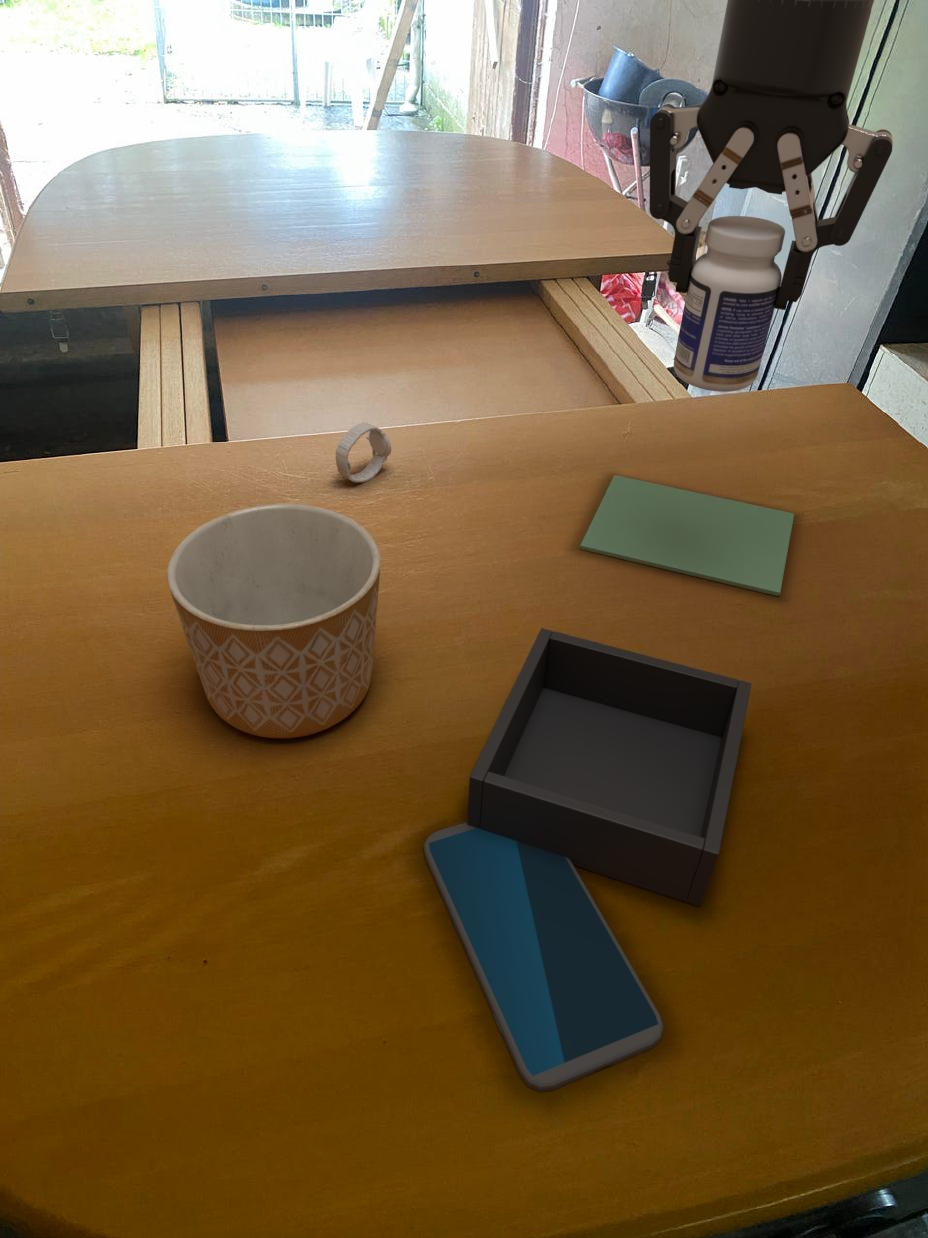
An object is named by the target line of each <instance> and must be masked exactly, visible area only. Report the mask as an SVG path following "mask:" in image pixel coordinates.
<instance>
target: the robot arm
mask: <svg viewBox="0 0 928 1238" xmlns="http://www.w3.org/2000/svg"><path fill="white" fill-rule="evenodd" d="M874 3H875V0H727V2H726V7H725V12H724V18H723V23H722V28H721V33H720V39H719V44H718V51H717V55H716V61H715V66H714V72H713V77H712V82H711V87H710V90H709V92H708V93H707V96H706V98H705V99H704V101H703V102H702V103H701V105H700V106H693V107H681V108H680V107H677V108H676V106H675V105H673V104H671V103H666V104H663V105H662V106H661V107H660V108H659V109H658V110H657V111H656V112H655V113H654V114H653V115H652V117H651V118H650V120H649V121H650V122H649V214H650V216H651V217H652V218H653V219H655V220H662V221H663V222H666V223H668V225H671V226H672V228H673V231H674V237H673V238H674V239H673V244H672V249H671V253H670V254H671V255H670V260H669V265H668V272H667V275H668V280H669V282H670V283H676V284H675V291H674V292H675V293H678V294H679V293H680V294H685V295H686V294H687V289H688V284H689V278H690V274H691V269H692V266H693V264H694V262H695V261H696V259H697V252H698V248H699V243H700V238H701V232H702V229H703V226H699V225H700V222H701V220H702V218H703V217H704V215H705V214H706V213H707V212H708V209H709V208H710V206H711V205H712V204H713V202H714V201H715V199H717V197H718V195H719V194H720V192H721V191H722V190H723V188H724V187H725V185H726V184H727V185H728V188H730V189H738V190H747V189H754V188H756V189H759V190H761V191H763V192H766V193H767V194H774V195H782V196H783V193H785V196H786V200H787V201H786V202H787V206H788V212H789V215H790V217H791V223H792V227H793V235H794V238H795V240H793V239H792V240H791V243H790V248H789V251H788V255H787V259H786V262H785V266H784V271H783V273H782V279H781V285H780V289H779V293H778V297H777V301H776V305H775V309H774V310H782V311H786V310H787V306H788V303H789V302H792V303H797V302H798V300H799V299H800V298H801V297H802V295H803V291H804V287H805V284H806V280H807V276H808V273H809V269H810V265H811V262H812V259H813V255H814V254H815V252H816V251H817V250H819V249H820V248H823V247H827V246H831V245H834V246H835V247H836V246H837V247H842V246H844V245H846V244H848V243H849V242H850V240H851V238H852V237H853V235H854V232H855V230H856V228H857V226H858V224H859V222H860V220H861V218H862V215H863V213H864V211H865V209H866V207H867V205H868V203H869V201H870V199H871V196H872V195H873V193H874V191H875V189H876V186H877V185H878V182H879V180H880V178H881V176H882V174H883V172H884V169H885V167H886V165H887V163H888V161H889V159H890V157H891V156H892V153H893V143H894V142H893V135H892V133H891V131H889V130H887V129H882V128H881V129H879V130H876V131H873V130H870V129H867V128H864V127H860V126H857V125H853V124H851V123H850V117H849V114H848V107H847V106H848V105H847V102H848V98H849V95H850V91H851V87H852V83H853V80H854V76H855V73H856V68H857V65H858V62H859V58H860V54H861V52H862V48H863V43H864V40H865V36H866V32H867V30H868V29H867V28H868V25H869V21H870V17H871V14H872V9H873V5H874ZM695 128H697V130H698V132H699V135H700V137H701V140H702V141H703V143H704V146H705V148H706V150H707V153H708V155H709V157H710V159H711V162H712V165H711V166H710V168H709V169H708V171H707V172H706V174H705V175H704V177H703V178H702V180H701V182H700V183H699V184H698V186H697V188H696V189H695V191H694V192H693V194H692V196H691V197H690V199H689V200H688V201H686V200H685V199H684V198H682V197H680V196H678V195H677V159H678V158H677V156H678V154H677V153H678V151H677V150H680V149H681V148H683V146H684V145H685V144H686V143H687V141H688V139H689V134H690V131H691V130H692V129H695ZM841 146H843V147H845V148H846V149H847V151H848V155H847V158H846V159H847V160H846V166H847V168H848V170H849V171H850V172H851V173H853V175H852V177H851V179H850V182H849V184H848V186H847V187H846V188H847V189H846V190H845V193H844V195H843V197H842V199H841V201H840V203H839V206H838V208H837V210H836V212H835V214H834V216H832V217H827V218H821V219H819V216H818V209H817V203H816V194H815V193H816V192H815V185H814V180H813V173H814V172H815V170H816V169H818V168H819V167H820V166H821V165H822V164H823V163H824V162H825V161H826V160H827V159H828V158H829V157H830V156H831V155H832V154H833V153H834V152H836V150H838V149H839V148H840V147H841Z"/></svg>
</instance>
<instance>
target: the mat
mask: <svg viewBox="0 0 928 1238" xmlns="http://www.w3.org/2000/svg"><path fill="white" fill-rule="evenodd" d="M794 519H795V513H793V512H788V511H784V510H779V509H774V508H770V507H766V506H761V505H757V504H752V503H747V502H742V501H737V500H733V499H728V498H724V497H720V496H715V495H711V494H705V493H701V492H695V491H692V490H687V489H682V488H677V487H672V486H668V485H663V484H659V483H654V482H649V481H645V480H642V479H641V480H640V479H635V478H631V477H627V476H626V477H625V476H621V475H617V474H614V475H613V476H612V479H611V481H610V483H609V485H608V487H607V489H606V491H605V493H604V495H603V498H602V499H601V501H600V503H599V505H598V508H597V509H596V512H595V514H594V516H593V518H592V520H591V522H590V524H589V526H588V529H587V531H586V533H585V534H584V537H583V539H582V540H581V542H580V545H579V550H582V551H587V552H589V553H595V554H599V555H603V556H608V557H611V558H615V559H620V560H624V561H629V562H631V563H632V562H633V563H636V564H641V565H645V566H648V567H649V566H650V567H654V568H657V569H662V570H666V571H670V572H674V573H678V574H683V575H686V576H691V577H696V578H700V579H703V580H708V581H713V582H715V583H716V582H718V583H721V584H725V585H728V586H734V587H738V588H742V589H745V590H750V591H755V592H759V593H762V594H767V595H770V596H771V595H772V596H776V597H780V595H781V591H782V587H783V581H784V576H785V575H784V574H785V568H786V564H787V558H788V553H789V552H788V551H789V547H790V541H791V535H792V530H793V523H794Z"/></svg>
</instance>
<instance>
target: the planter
mask: <svg viewBox="0 0 928 1238" xmlns="http://www.w3.org/2000/svg"><path fill="white" fill-rule="evenodd" d="M381 558H382V557H381V551H380V548H379V545H378V544H377V541H376V540H375V539H374V537H373V536H372V535H371V533H370V532H369V530H367V529H366V528H365V527H364V526H363V525H362V524H360V523H359V522H358V521H356V520H354V519H352V518H350V517H349V516H346V515H344V514H342V513H340V512H337V511H334V510H331V509H327V508H325V507H319V506H314V505H310V504H309V505H308V504H300V503H299V504H297V503H274V504H263V505H262V504H261V505H256V506H251V507H245V508H241V509H237V510H234V511H231V512H228V513H225V514H223V515H220V516H218V517H215V518H213V519H211V520H209V521H207V522H205V523H204V524H201V525H200V526H199V527H197V528H195V529H194V530H192V531H191V532H190V533H189V534H188V535H187V536H186V537H184V538H183V539H182V540H181V542H179V544H178V545H177V546H176V547H175V549H174V551H173V552H172V554H171V556H170V558H169V560H168V564H167V568H166V581H167V585H168V589H169V592H170V594H171V597H172V600H173V603H174V606H175V608H176V609H175V610H176V611H177V615H178V618H179V620H180V623H181V627H182V629H183V633H184V636H185V638H186V641H187V644H188V647H189V649H190V653H191V656H192V659H193V660H194V663H195V667H196V669H197V673H198V676H199V678H200V681H201V684H202V687H203V690H204V693H205V696H206V699H207V701H208V703H209V704H210V706H211V708H212V709H213V711H214V712H215V713H216V714H217V715H218V716H219V717H220V718H221V719H222V720H223V721H224V722H226V724H229V725H230V726H232V727H233V728H235V729H237V730H239V731H241V732H244V733H247V734H250V735H253V736H257V737H261V738H268V739H294V738H301V737H302V738H303V737H306V736H311V735H314V734H317V733H320V732H322V731H325V730H327V729H329V728H331V727H333V726H335V725H336V724H338V723H340V722H341V721H343V720H344V719H346V718H347V717H348V716H349V715H351V714H352V713H353V712H354V711H355V710H356V709H357V708H358V707H359V706H360V704H361V703H362V701H363V700H364V698H365V697H366V695H367V693H368V691H369V689H370V685H371V682H372V678H373V677H372V676H373V668H374V667H373V665H374V656H375V655H374V653H375V641H376V628H377V616H378V601H379V589H380V576H381V562H382V561H381V560H382V559H381Z"/></svg>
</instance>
